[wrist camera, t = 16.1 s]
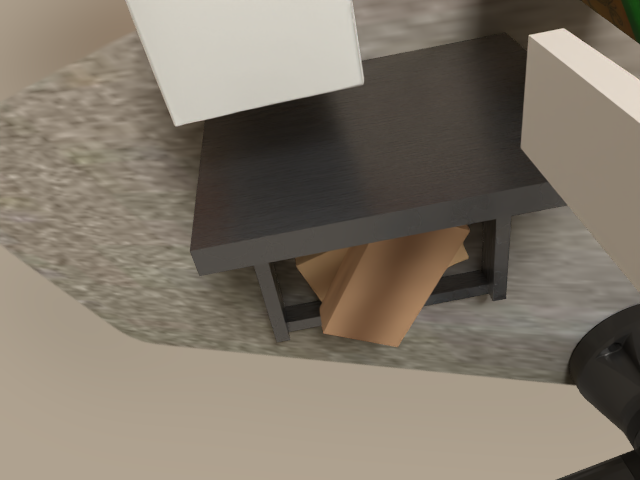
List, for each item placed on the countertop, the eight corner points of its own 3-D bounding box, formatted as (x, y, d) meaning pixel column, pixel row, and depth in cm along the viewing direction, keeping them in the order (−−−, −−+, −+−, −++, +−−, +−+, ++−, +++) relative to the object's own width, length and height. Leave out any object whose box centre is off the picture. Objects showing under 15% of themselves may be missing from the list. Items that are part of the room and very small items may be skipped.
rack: (494, 276, 53) (585, 447, 39) (275, 318, 53) (287, 503, 39) (505, 33, 39) (655, 161, 25) (208, 90, 39) (190, 251, 25)
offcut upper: (458, 208, 45) (470, 230, 42) (390, 322, 52) (397, 346, 49) (378, 186, 43) (386, 208, 40) (319, 308, 50) (323, 333, 47)
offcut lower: (458, 236, 51) (469, 258, 48) (328, 294, 53) (332, 317, 51) (432, 178, 47) (443, 198, 44) (293, 244, 49) (296, 266, 47)
